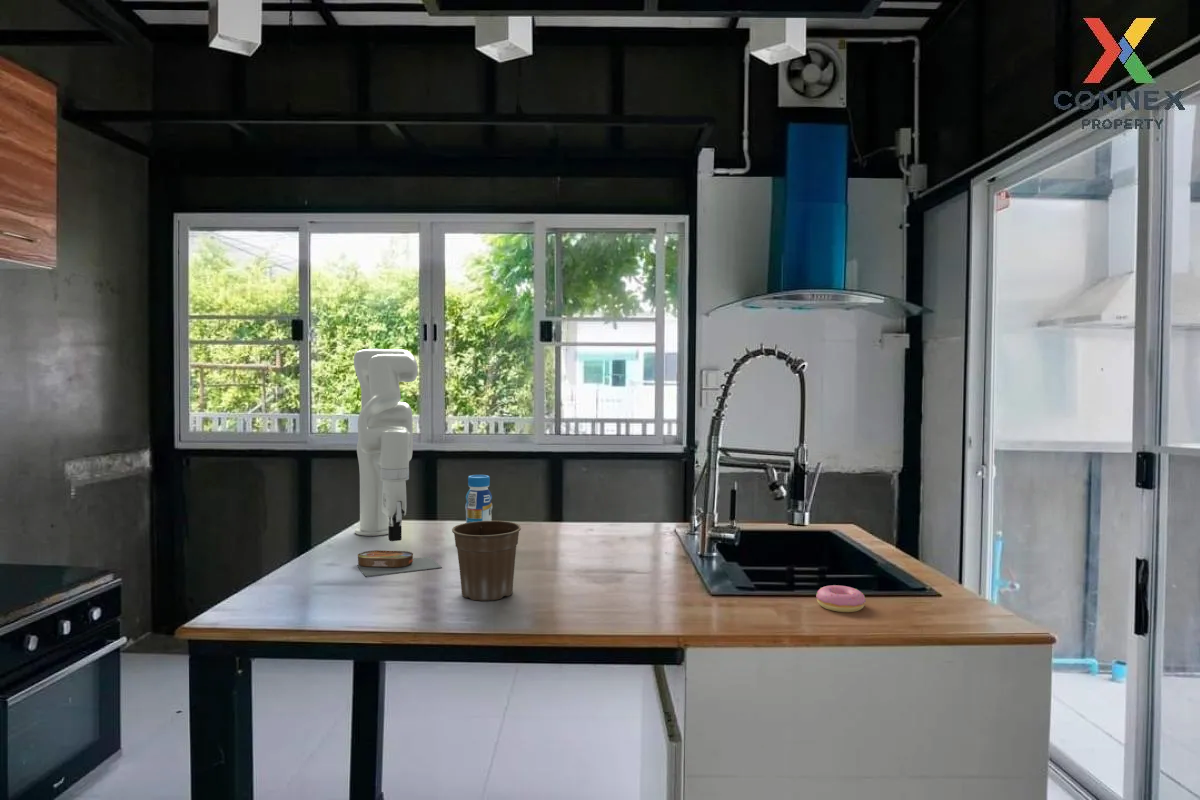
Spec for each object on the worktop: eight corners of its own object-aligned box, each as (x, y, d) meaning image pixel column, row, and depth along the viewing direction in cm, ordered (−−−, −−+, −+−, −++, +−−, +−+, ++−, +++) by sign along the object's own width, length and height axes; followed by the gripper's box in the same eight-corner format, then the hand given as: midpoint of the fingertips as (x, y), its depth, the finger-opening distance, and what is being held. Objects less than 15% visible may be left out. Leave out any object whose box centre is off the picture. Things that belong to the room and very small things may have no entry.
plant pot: (454, 606, 171) (454, 536, 170) (449, 586, 186) (449, 522, 186) (525, 601, 175) (526, 532, 174) (514, 582, 191) (515, 519, 190)
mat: (357, 565, 204) (357, 564, 204) (429, 557, 214) (429, 556, 214) (365, 577, 194) (365, 575, 194) (441, 568, 203) (441, 566, 203)
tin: (417, 551, 209) (406, 556, 200) (417, 562, 209) (406, 568, 200) (365, 549, 210) (352, 555, 202) (365, 561, 210) (352, 566, 202)
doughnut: (833, 616, 167) (833, 598, 167) (806, 601, 178) (806, 584, 178) (875, 612, 171) (876, 594, 170) (846, 598, 181) (847, 580, 181)
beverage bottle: (462, 537, 239) (462, 474, 238) (487, 535, 243) (488, 473, 242) (469, 543, 232) (469, 478, 231) (495, 540, 235) (495, 477, 234)
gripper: (375, 471, 212) (375, 536, 213) (387, 478, 199) (387, 547, 199) (402, 470, 215) (402, 533, 216) (415, 477, 202) (415, 544, 203)
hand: (395, 540), depth 208 cm, fingers closed
